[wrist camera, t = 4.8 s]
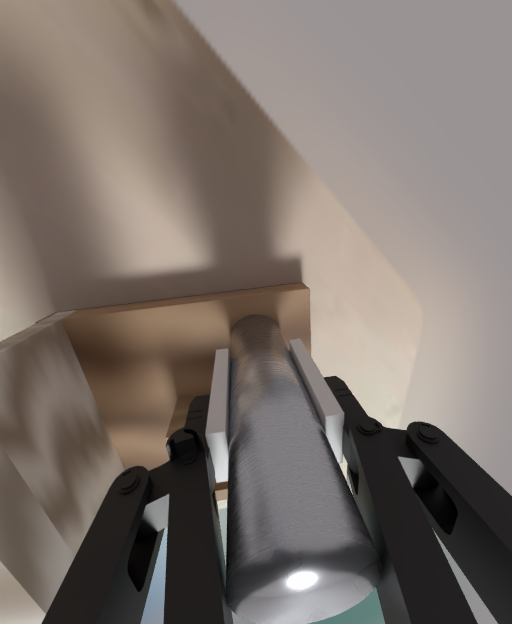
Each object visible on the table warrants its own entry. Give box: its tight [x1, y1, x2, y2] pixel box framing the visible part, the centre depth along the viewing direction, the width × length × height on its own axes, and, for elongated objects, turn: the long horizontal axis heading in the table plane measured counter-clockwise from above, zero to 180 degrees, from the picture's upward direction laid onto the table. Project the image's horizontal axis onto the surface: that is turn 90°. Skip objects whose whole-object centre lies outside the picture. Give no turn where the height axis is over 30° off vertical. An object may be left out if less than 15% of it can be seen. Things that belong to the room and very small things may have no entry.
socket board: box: [0, 283, 311, 624], centre depth 16 cm, size 20×20×14 cm
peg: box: [226, 314, 383, 624], centre depth 13 cm, size 4×4×14 cm
